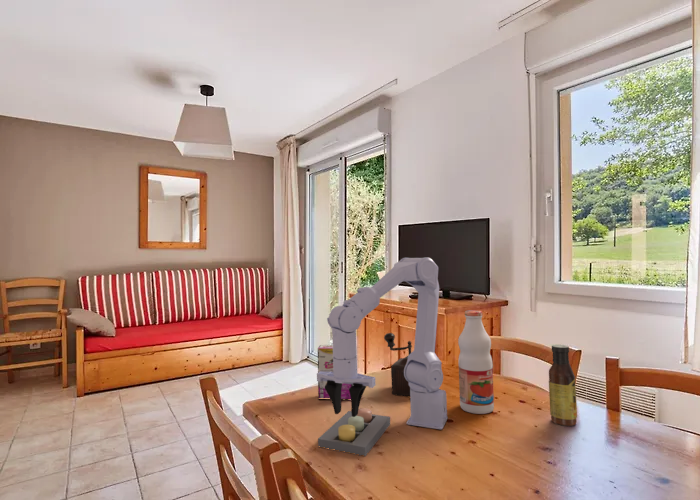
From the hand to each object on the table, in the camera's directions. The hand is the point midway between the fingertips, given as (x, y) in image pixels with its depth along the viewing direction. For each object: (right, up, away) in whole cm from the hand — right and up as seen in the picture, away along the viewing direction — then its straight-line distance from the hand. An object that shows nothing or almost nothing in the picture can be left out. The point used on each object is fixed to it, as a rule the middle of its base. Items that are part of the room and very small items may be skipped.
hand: (346, 413), depth 96 cm
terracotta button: (+5, -6, +10) cm, 13 cm away
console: (+2, -7, +5) cm, 9 cm away
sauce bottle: (+57, -6, +10) cm, 58 cm away
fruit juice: (+38, -7, +20) cm, 43 cm away
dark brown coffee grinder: (+19, -8, +37) cm, 42 cm away
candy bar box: (-3, -8, +32) cm, 33 cm away
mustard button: (0, -6, 0) cm, 6 cm away
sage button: (+2, -6, +5) cm, 8 cm away
